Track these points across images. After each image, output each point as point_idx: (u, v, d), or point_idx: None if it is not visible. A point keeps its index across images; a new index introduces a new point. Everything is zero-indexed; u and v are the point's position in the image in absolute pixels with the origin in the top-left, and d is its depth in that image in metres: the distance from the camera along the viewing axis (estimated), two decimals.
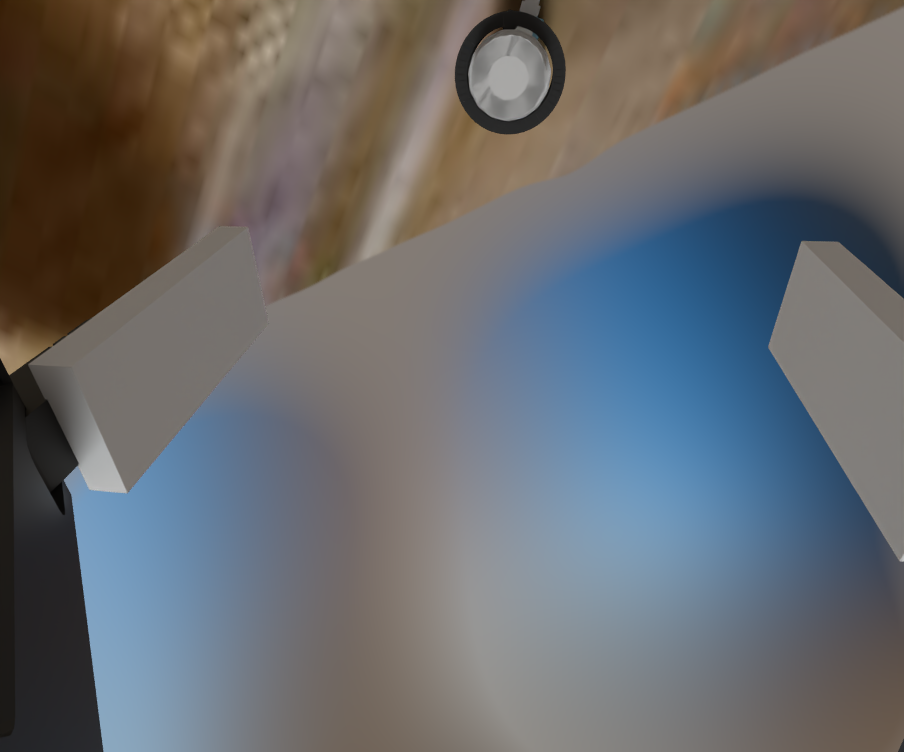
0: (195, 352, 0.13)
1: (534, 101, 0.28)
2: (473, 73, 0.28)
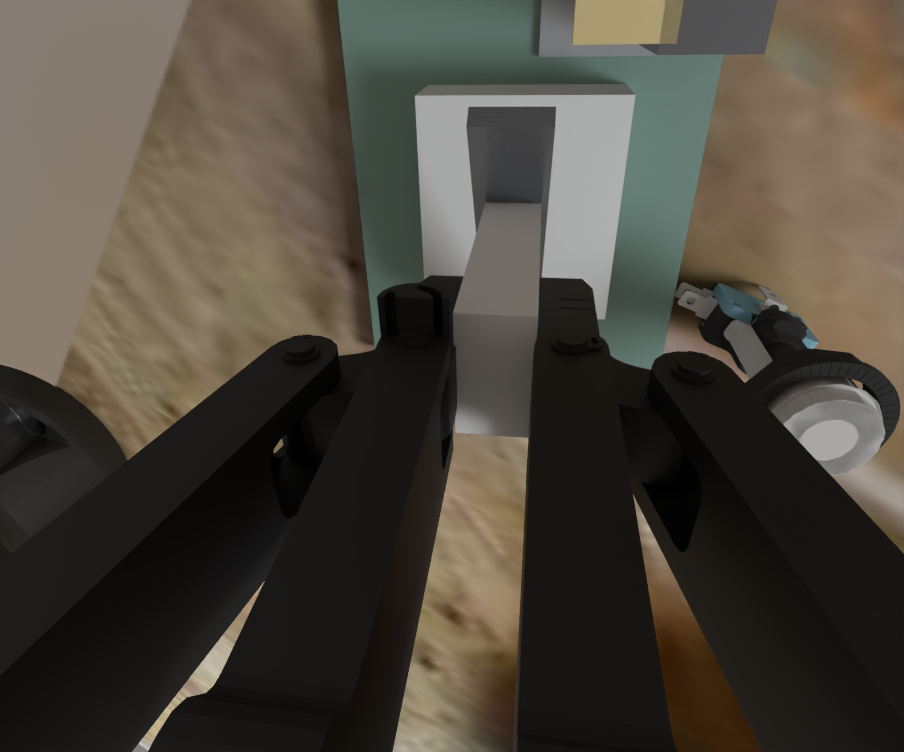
0: None
1: (874, 416, 0.20)
2: None
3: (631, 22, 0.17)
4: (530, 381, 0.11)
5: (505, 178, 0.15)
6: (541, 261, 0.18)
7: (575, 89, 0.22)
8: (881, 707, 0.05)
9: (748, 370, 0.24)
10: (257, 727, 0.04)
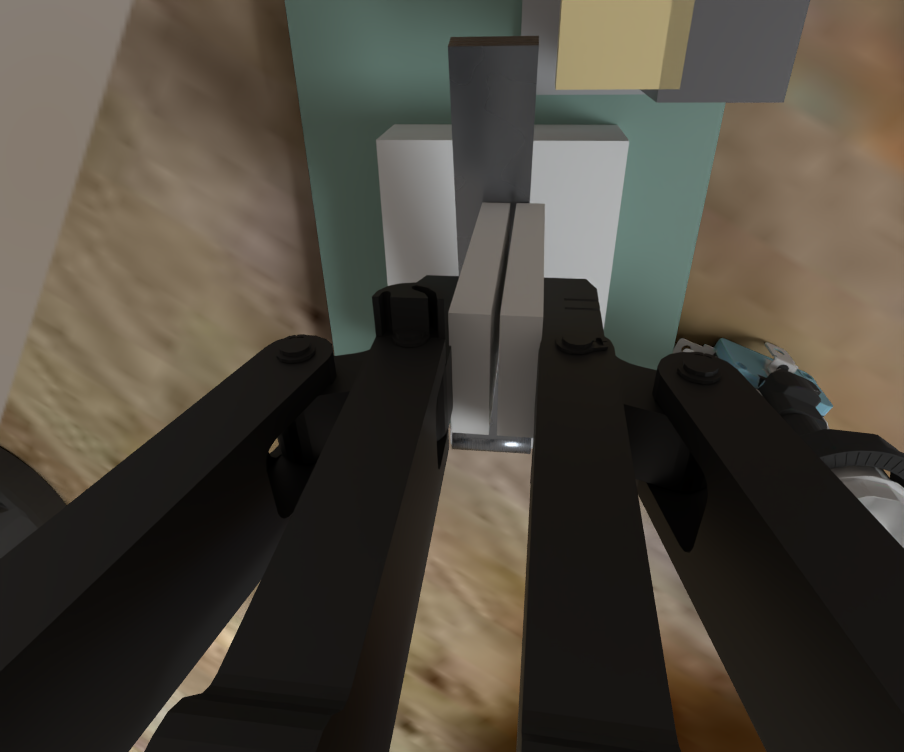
0: None
1: None
2: None
3: (625, 64, 0.14)
4: (535, 381, 0.11)
5: (487, 121, 0.14)
6: None
7: (560, 132, 0.20)
8: (887, 708, 0.05)
9: None
10: (253, 726, 0.04)
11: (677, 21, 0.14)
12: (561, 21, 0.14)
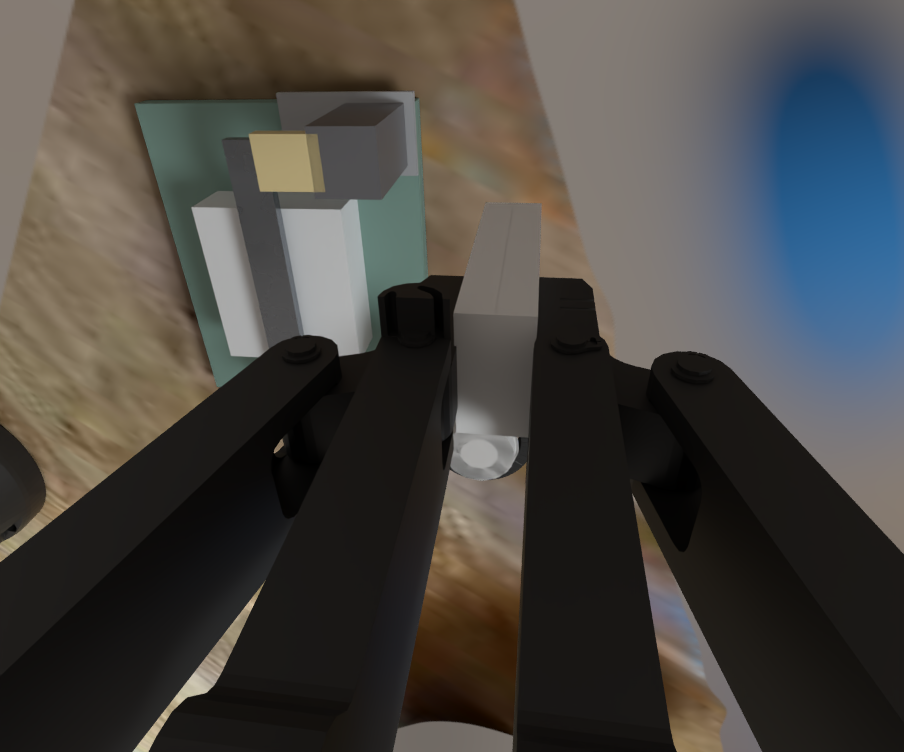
0: None
1: (502, 437, 0.29)
2: (471, 477, 0.30)
3: (293, 179, 0.26)
4: (529, 381, 0.11)
5: (247, 177, 0.28)
6: (282, 251, 0.30)
7: (311, 200, 0.31)
8: (882, 707, 0.05)
9: None
10: (257, 726, 0.04)
11: (313, 158, 0.25)
12: (253, 157, 0.25)
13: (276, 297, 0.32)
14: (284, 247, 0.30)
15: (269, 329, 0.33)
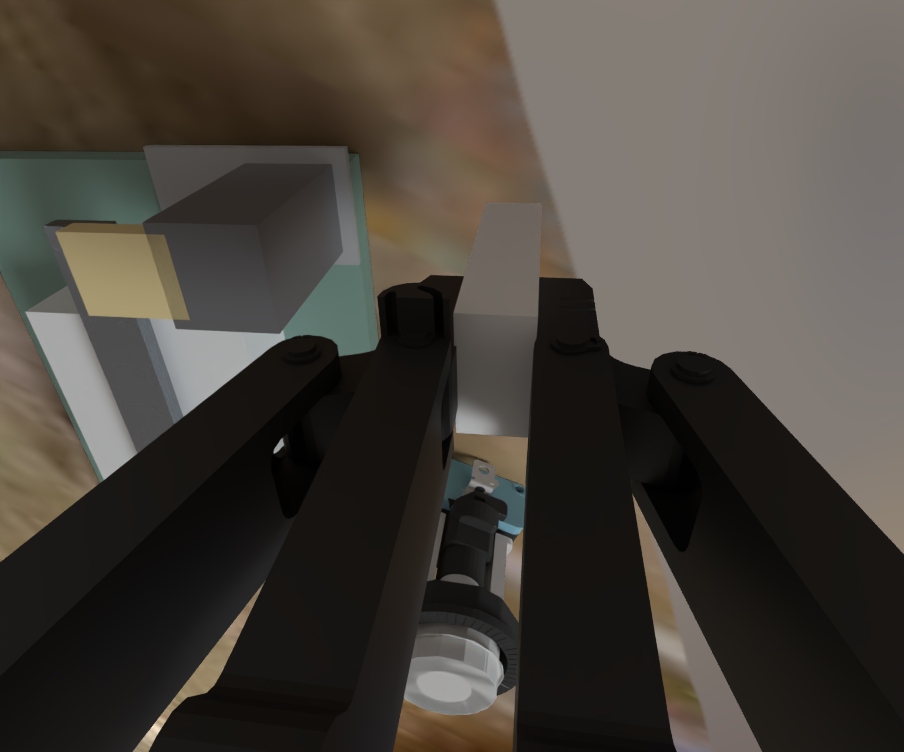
0: None
1: (477, 671, 0.19)
2: (434, 710, 0.21)
3: (137, 300, 0.16)
4: (529, 381, 0.11)
5: None
6: (156, 379, 0.20)
7: None
8: (880, 707, 0.05)
9: None
10: (257, 727, 0.04)
11: (164, 270, 0.15)
12: (69, 266, 0.16)
13: (157, 435, 0.22)
14: (159, 372, 0.20)
15: None
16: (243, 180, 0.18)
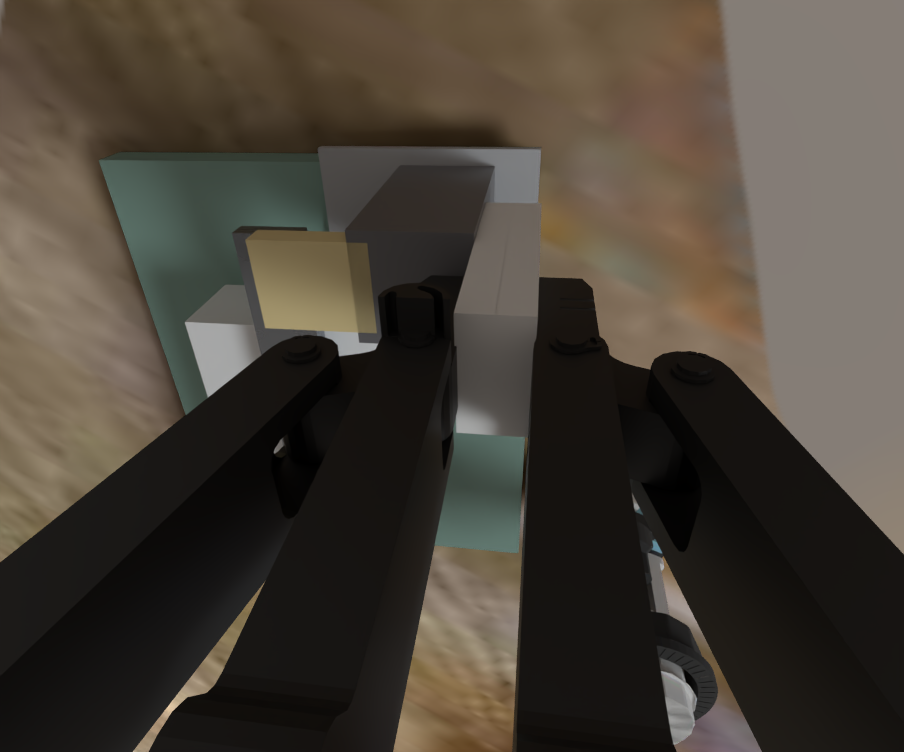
0: None
1: (679, 707, 0.18)
2: None
3: (322, 311, 0.15)
4: (529, 381, 0.11)
5: None
6: None
7: None
8: (881, 707, 0.05)
9: None
10: (258, 727, 0.04)
11: (358, 281, 0.14)
12: (254, 276, 0.15)
13: None
14: None
15: None
16: (414, 183, 0.17)
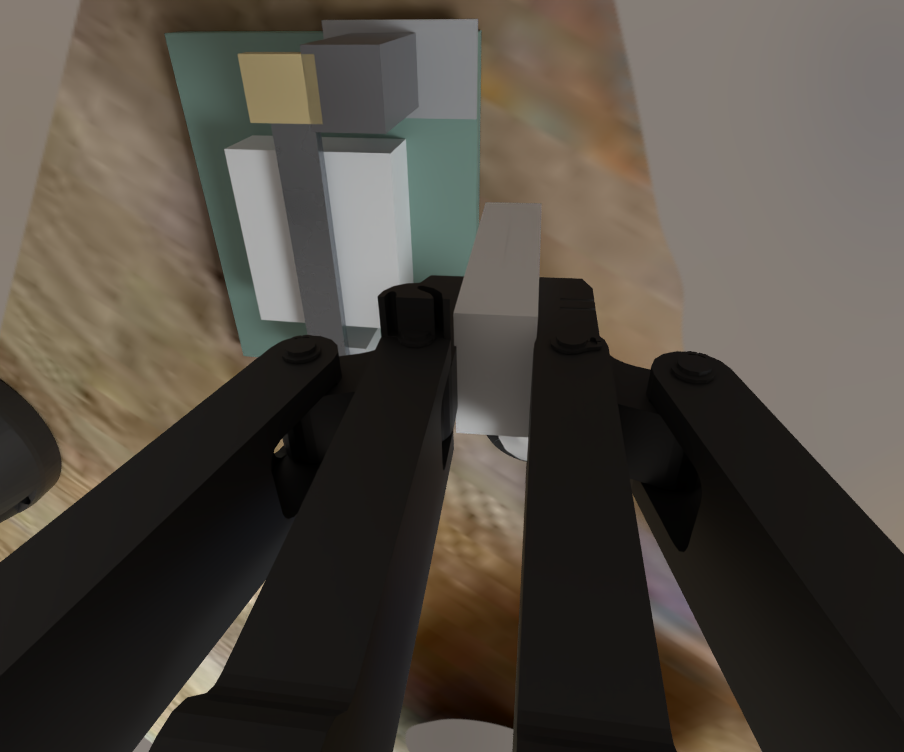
0: None
1: None
2: (526, 459, 0.27)
3: (287, 108, 0.23)
4: (529, 381, 0.11)
5: None
6: (323, 200, 0.27)
7: (356, 145, 0.28)
8: (880, 708, 0.05)
9: None
10: (257, 727, 0.04)
11: (309, 83, 0.22)
12: (243, 81, 0.22)
13: (314, 252, 0.29)
14: (325, 195, 0.27)
15: (305, 289, 0.30)
16: (355, 36, 0.24)
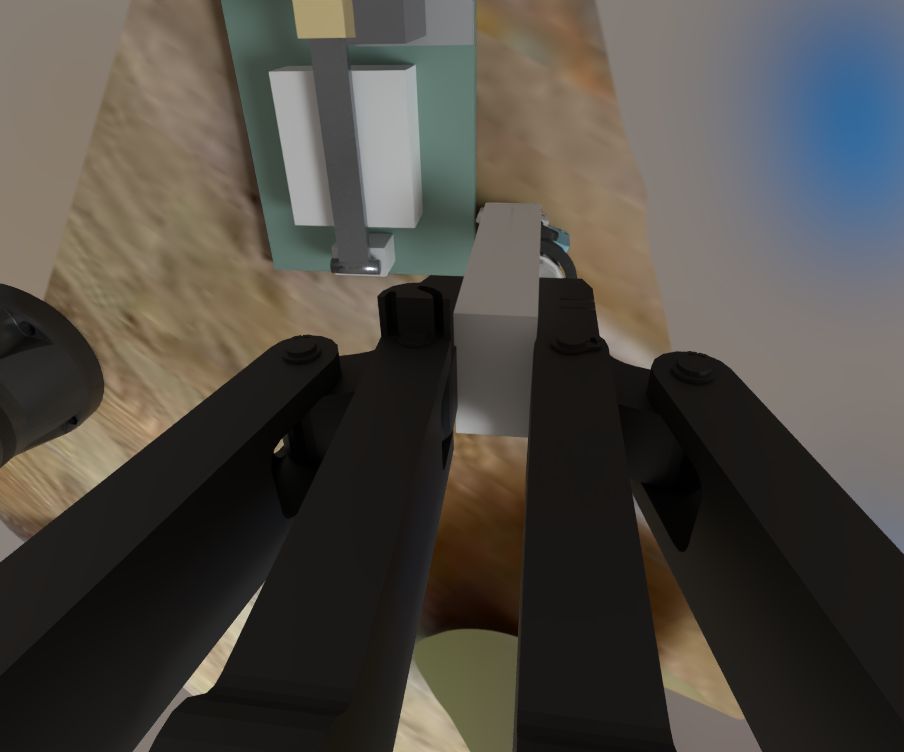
0: None
1: (551, 273, 0.32)
2: None
3: (327, 25, 0.29)
4: (530, 381, 0.11)
5: None
6: (351, 110, 0.33)
7: (376, 67, 0.34)
8: (882, 707, 0.05)
9: None
10: (257, 726, 0.04)
11: (346, 3, 0.28)
12: (293, 3, 0.29)
13: (343, 158, 0.35)
14: (353, 107, 0.33)
15: (334, 192, 0.36)
16: None
